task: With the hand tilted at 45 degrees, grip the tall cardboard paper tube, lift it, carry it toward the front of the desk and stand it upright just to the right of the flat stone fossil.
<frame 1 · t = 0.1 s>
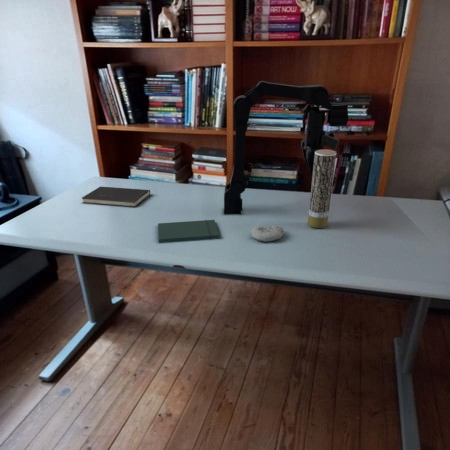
hand: (310, 172, 151), 15 cm above the table, tool pointing down, fingers open, 9 cm apart
notebook: (187, 232, 143), on the table
hardcover book: (117, 199, 174), on the table
fossil: (267, 237, 139), on the table
paper tube: (317, 226, 147), on the table
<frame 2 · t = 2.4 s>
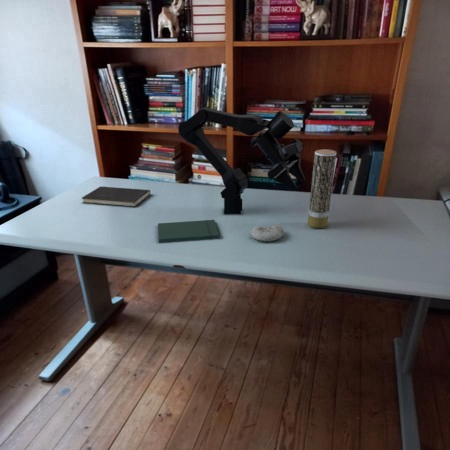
hand: (300, 184, 142), 13 cm above the table, tool tilted 45°, fingers open, 9 cm apart
nothing on the table moved.
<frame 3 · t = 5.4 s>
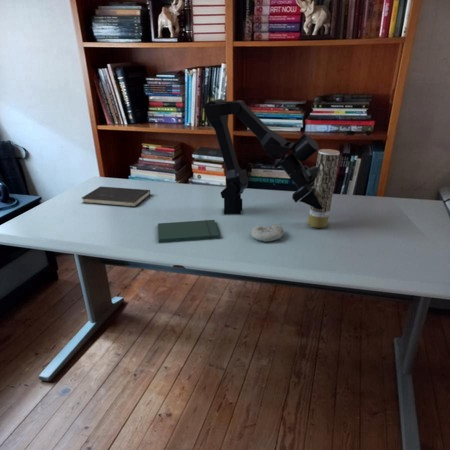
hand: (323, 206, 142), 7 cm above the table, tool tilted 45°, fingers closed on paper tube, 6 cm apart
paper tube: (317, 225, 147), on the table, touching gripper
everything else where it was.
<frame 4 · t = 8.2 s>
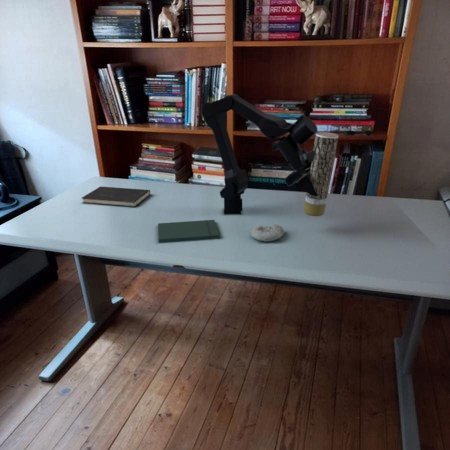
hand: (320, 193, 135), 13 cm above the table, tool tilted 45°, fingers closed on paper tube, 6 cm apart
paper tube: (313, 214, 140), point 6 cm above the table, touching gripper
everything else where it was.
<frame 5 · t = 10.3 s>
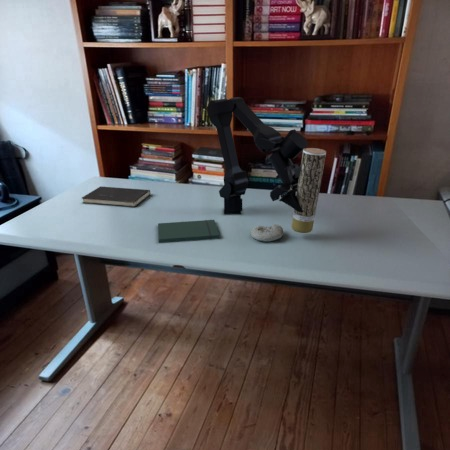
hand: (308, 210, 132), 10 cm above the table, tool tilted 45°, fingers closed on paper tube, 6 cm apart
paper tube: (301, 230, 137), point 3 cm above the table, touching gripper
everything else where it was.
when the fingers open (7 cm above the table, at t = 11.6 s): paper tube stays where it is, on the table.
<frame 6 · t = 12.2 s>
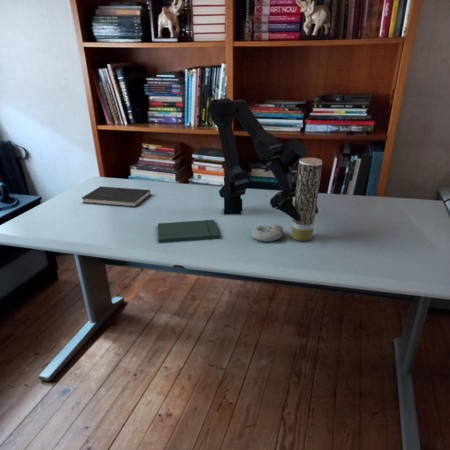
hand: (308, 216, 133), 8 cm above the table, tool tilted 45°, fingers open, 9 cm apart
paper tube: (301, 238, 138), on the table, touching gripper
everything else where it was.
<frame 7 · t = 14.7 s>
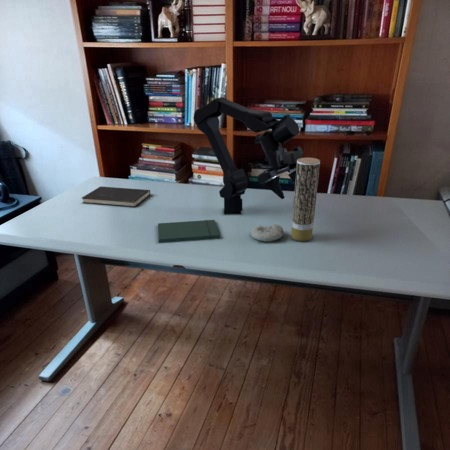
hand: (292, 194, 138), 12 cm above the table, tool tilted 35°, fingers open, 9 cm apart
paper tube: (301, 238, 138), on the table
everything else where it was.
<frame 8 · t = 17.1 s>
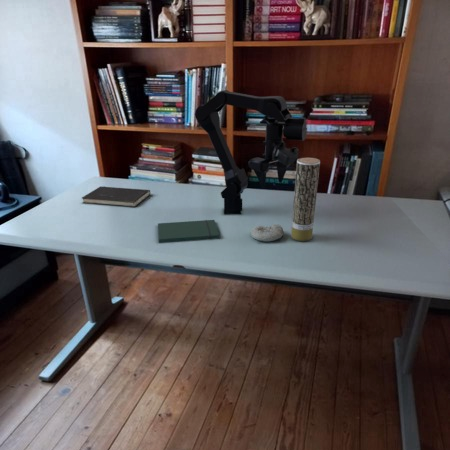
hand: (271, 184, 148), 12 cm above the table, tool pointing down, fingers open, 9 cm apart
nothing on the table moved.
at the end: paper tube inside the target area on the table beside the fossil (0.7 cm from its centre), on the table; paper tube tilted 0°; the gripper is holding nothing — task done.
